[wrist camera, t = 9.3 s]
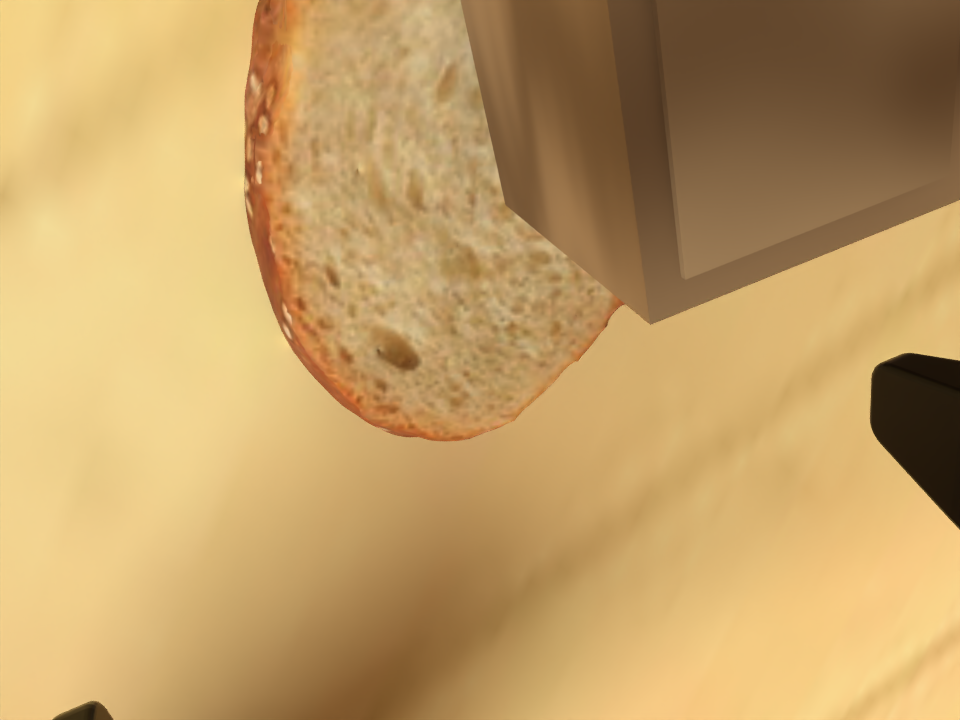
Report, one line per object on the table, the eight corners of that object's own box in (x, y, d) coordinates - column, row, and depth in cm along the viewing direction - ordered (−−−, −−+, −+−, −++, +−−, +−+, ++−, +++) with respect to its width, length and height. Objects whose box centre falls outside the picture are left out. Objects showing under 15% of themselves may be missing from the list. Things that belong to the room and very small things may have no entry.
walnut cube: (751, 116, 19) (976, 197, 14) (505, 205, 18) (654, 328, 13) (735, -199, 16) (1018, -237, 11) (435, -114, 15) (596, -113, 10)
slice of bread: (348, 466, 24) (384, 554, 20) (-55, -366, 14) (-105, -439, 11) (896, 210, 26) (1000, 253, 23) (887, -635, 16) (1066, -754, 13)
